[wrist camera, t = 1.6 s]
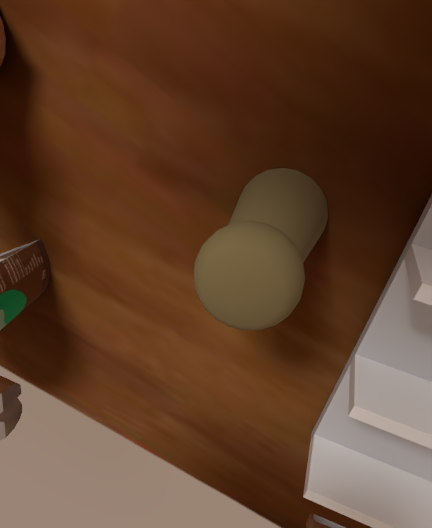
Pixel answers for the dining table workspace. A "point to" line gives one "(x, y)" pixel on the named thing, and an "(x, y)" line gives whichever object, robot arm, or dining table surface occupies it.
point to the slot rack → (383, 406)
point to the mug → (2, 42)
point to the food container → (22, 279)
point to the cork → (262, 251)
